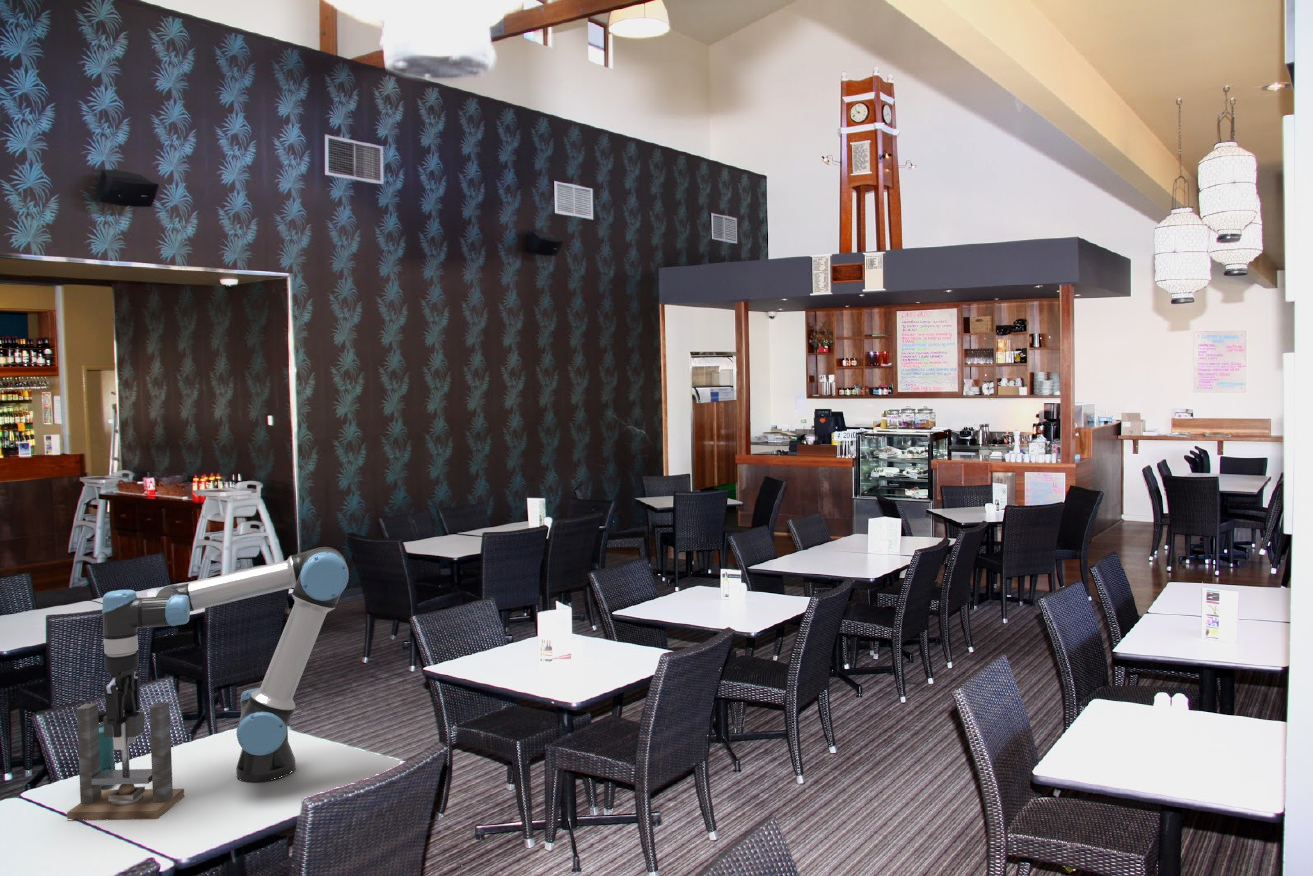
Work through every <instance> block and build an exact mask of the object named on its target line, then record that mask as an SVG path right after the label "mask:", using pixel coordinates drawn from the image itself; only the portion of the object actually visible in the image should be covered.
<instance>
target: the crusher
mask: <svg viewBox="0 0 1313 876" xmlns="http://www.w3.org/2000/svg"><path fill="white" fill-rule="evenodd" d="M103 721H104V722H103V723H104V737H113V725H112V724H107V718H106V716H105V717H103ZM123 723H125V729H126V749H125V750H121V768H122V769H115V770H104V771H102V772H101V773H99V774H98V775H96V776H95V777H93V778H92V779H91V780H92V785H103V786H107V785H121V784H134V785H148V784H149V785H150V783H151V782H152V768H140V769H139V768H138V769H137V768H136V769H133V768H131V769H130V750H129V749H130V747H129V746H130V745H129V744H130V743H128V737H136V738H137V737H138V736H140V735H142V734H143V733H144V732H145V731H146V729H145V712H144V711H137V712H124V715H123Z"/></svg>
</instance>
